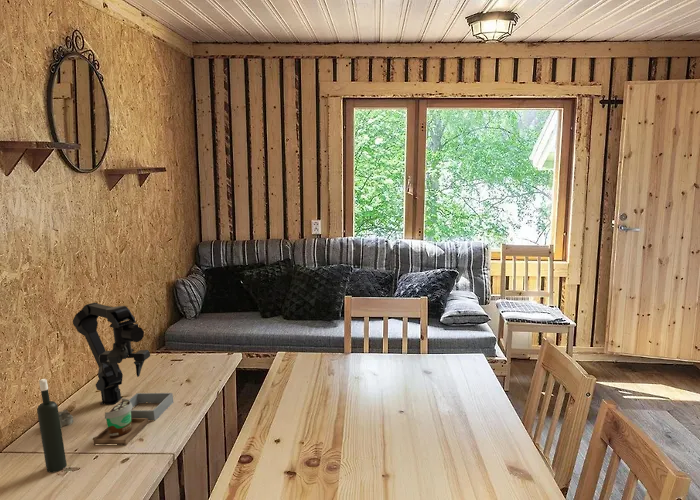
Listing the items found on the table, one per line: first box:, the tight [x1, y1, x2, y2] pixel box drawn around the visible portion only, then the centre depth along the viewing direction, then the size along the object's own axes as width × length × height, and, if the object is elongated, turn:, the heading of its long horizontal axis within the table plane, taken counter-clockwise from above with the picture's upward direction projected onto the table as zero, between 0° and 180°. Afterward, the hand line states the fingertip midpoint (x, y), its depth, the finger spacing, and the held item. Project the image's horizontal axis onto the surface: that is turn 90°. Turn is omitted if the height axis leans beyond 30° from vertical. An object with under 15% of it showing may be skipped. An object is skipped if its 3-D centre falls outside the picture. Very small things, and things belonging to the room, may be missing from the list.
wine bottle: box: [36, 378, 67, 473], centre depth 178 cm, size 6×6×30 cm
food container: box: [104, 398, 134, 438], centre depth 200 cm, size 12×6×10 cm, turn 173°
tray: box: [92, 418, 150, 446], centre depth 201 cm, size 12×16×2 cm
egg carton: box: [58, 408, 74, 429], centre depth 211 cm, size 11×8×4 cm
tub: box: [128, 392, 174, 422], centre depth 218 cm, size 15×16×4 cm
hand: (127, 376), depth 221 cm, fingers open, 9 cm apart
